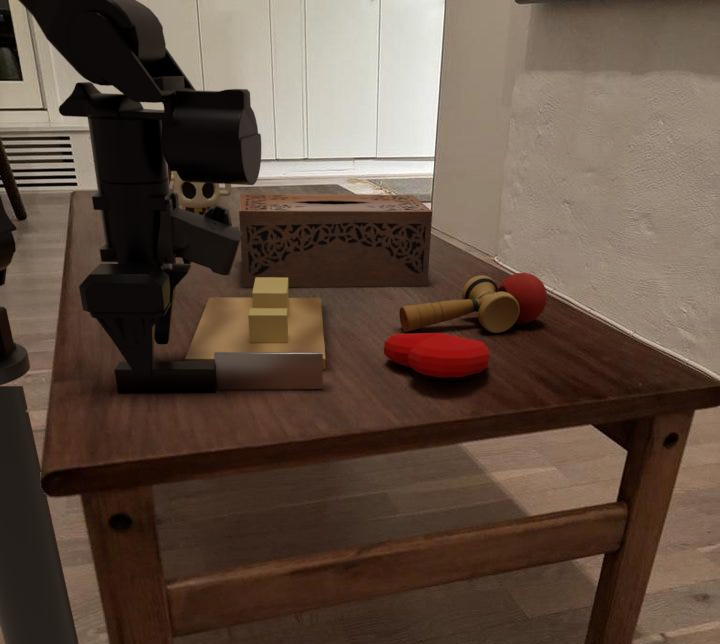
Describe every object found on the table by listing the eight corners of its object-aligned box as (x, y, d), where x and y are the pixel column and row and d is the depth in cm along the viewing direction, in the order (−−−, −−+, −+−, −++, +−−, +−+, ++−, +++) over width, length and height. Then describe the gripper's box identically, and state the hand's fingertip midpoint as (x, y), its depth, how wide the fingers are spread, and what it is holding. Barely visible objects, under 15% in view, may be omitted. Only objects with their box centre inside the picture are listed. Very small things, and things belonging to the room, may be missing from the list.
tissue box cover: (243, 287, 101) (239, 211, 96) (244, 262, 113) (240, 193, 108) (427, 285, 104) (432, 211, 99) (408, 261, 117) (412, 194, 112)
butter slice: (249, 342, 78) (248, 315, 76) (251, 335, 80) (249, 308, 78) (287, 342, 78) (287, 315, 77) (288, 335, 80) (287, 308, 79)
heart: (458, 364, 82) (375, 365, 78) (462, 325, 80) (378, 324, 77) (518, 386, 71) (426, 388, 67) (524, 342, 70) (430, 341, 66)
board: (185, 370, 74) (184, 358, 73) (209, 306, 93) (209, 297, 92) (325, 369, 75) (325, 358, 74) (320, 307, 94) (320, 297, 93)
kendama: (419, 355, 83) (562, 322, 86) (411, 298, 81) (558, 267, 84) (397, 344, 90) (530, 314, 94) (389, 292, 88) (526, 263, 91)
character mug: (169, 253, 118) (160, 165, 111) (166, 243, 124) (158, 160, 117) (237, 250, 120) (232, 164, 114) (231, 241, 126) (226, 159, 120)
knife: (117, 394, 68) (112, 357, 66) (122, 385, 70) (117, 348, 68) (323, 393, 70) (322, 356, 68) (322, 384, 71) (322, 348, 70)
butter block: (253, 318, 85) (252, 292, 84) (256, 301, 91) (255, 277, 90) (288, 318, 85) (287, 293, 84) (288, 301, 91) (288, 277, 90)
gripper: (221, 199, 53) (234, 400, 60) (240, 166, 69) (249, 328, 77) (61, 197, 52) (95, 401, 60) (119, 164, 68) (139, 328, 76)
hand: (154, 360), depth 68 cm, fingers open, 9 cm apart
